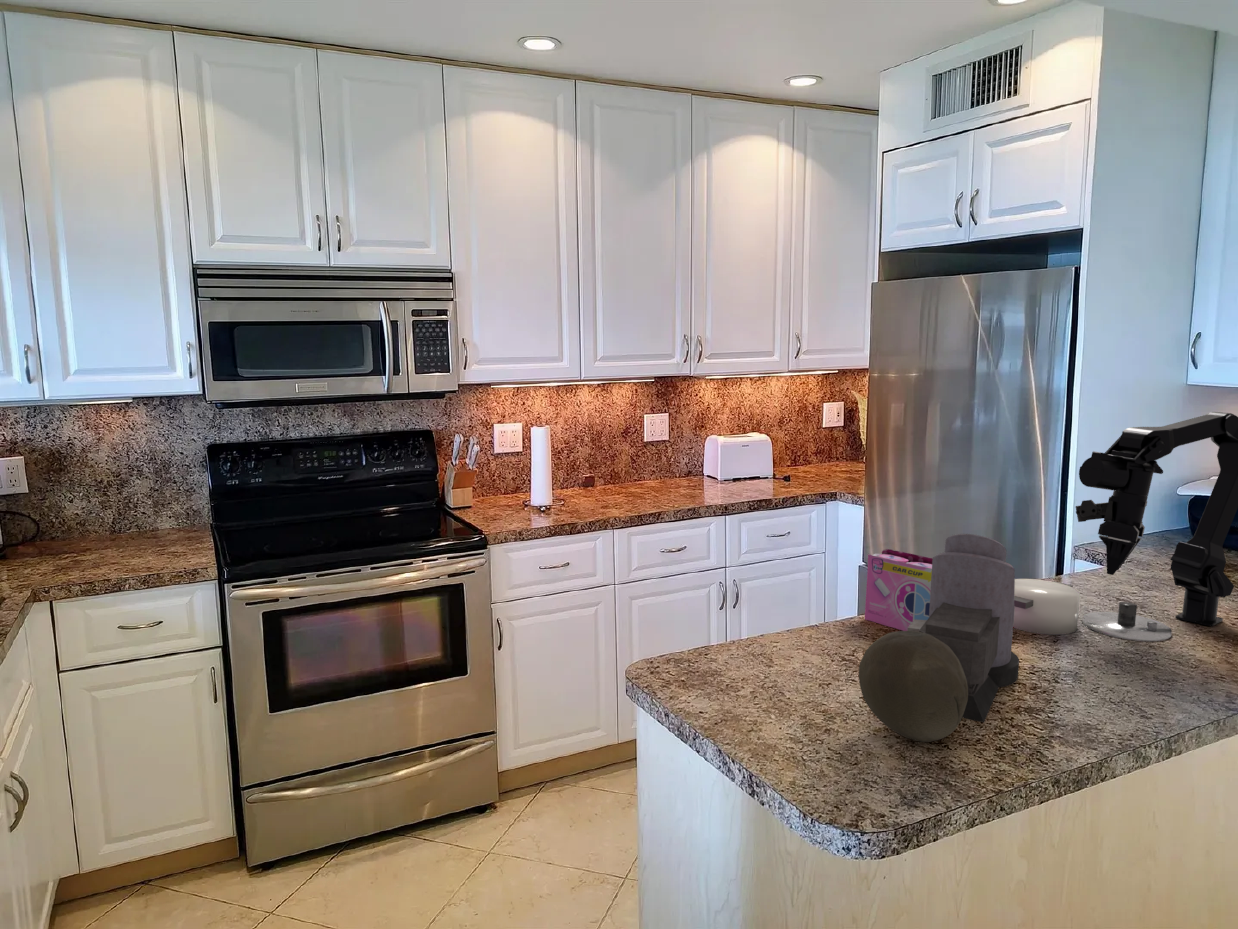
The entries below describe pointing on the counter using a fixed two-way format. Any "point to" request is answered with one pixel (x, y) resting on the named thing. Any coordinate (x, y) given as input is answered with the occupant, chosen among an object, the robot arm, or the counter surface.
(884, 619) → the pink product box
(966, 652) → the juicer
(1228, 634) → the counter surface
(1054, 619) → the cooker pot
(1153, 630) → the cooker lid
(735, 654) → the counter surface
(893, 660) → the cantaloupe
